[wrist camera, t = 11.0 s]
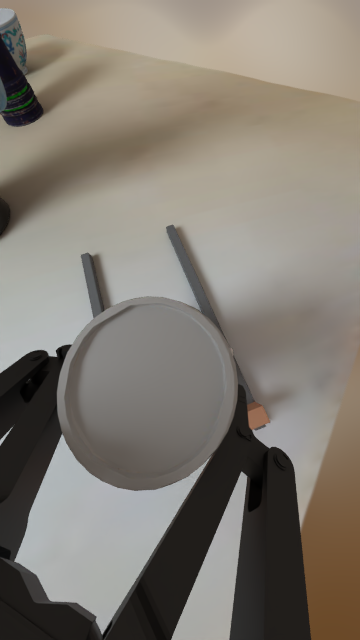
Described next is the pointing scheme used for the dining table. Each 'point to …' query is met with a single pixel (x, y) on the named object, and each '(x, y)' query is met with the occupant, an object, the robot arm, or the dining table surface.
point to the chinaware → (13, 37)
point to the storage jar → (17, 92)
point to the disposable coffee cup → (147, 393)
